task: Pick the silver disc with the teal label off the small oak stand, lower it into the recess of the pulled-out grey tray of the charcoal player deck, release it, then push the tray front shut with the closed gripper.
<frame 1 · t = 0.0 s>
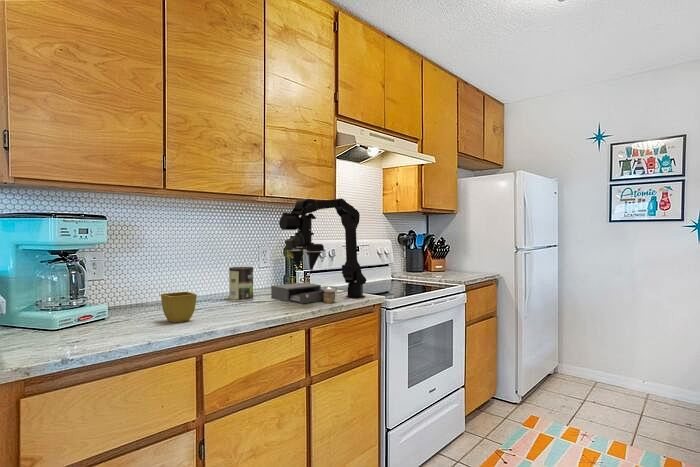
hand: (304, 268, 162), 15 cm above the worktop, fingers open, 9 cm apart
tray: (310, 294, 172), point 2 cm above the worktop, slide at 9.0 cm
oak stand: (328, 302, 167), on the worktop
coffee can: (241, 300, 174), on the worktop
flower pot: (178, 321, 132), on the worktop
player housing: (297, 297, 179), on the worktop
disc: (328, 290, 167), point 5 cm above the worktop, touching oak stand
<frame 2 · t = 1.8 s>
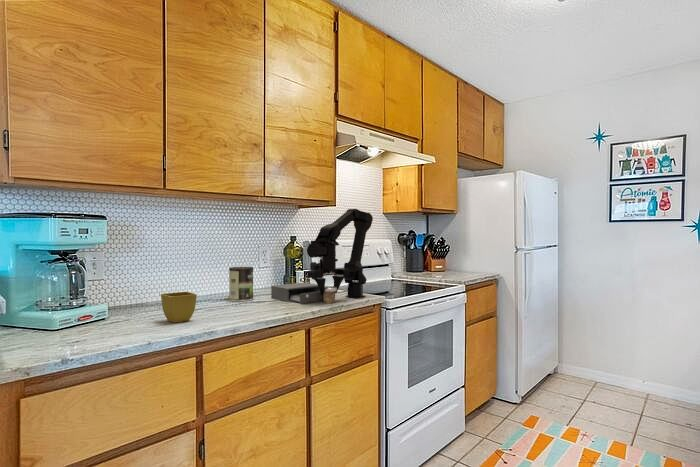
hand: (328, 293, 167), 4 cm above the worktop, fingers closed on disc, 7 cm apart
disc: (328, 290, 167), point 5 cm above the worktop, touching gripper, oak stand
everything else where it was.
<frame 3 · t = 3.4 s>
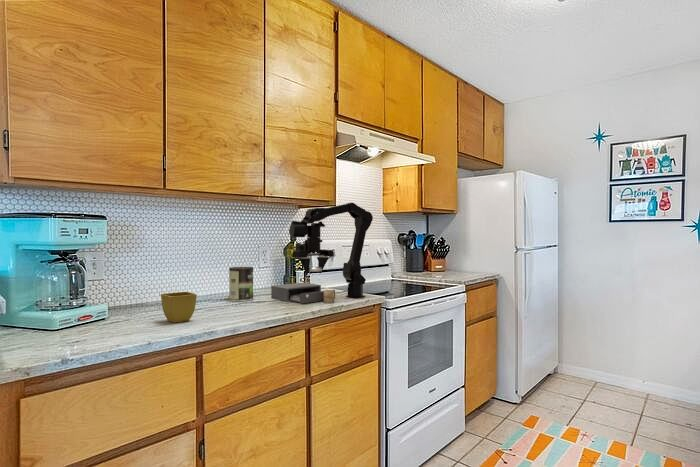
hand: (313, 273, 171), 12 cm above the worktop, fingers closed on disc, 7 cm apart
disc: (313, 271, 171), point 13 cm above the worktop, touching gripper
everything else where it was.
when the fingers open (2 cm above the worktop, at t = 5.5 s): disc moves 1 cm and tips over, resting on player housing, tray.
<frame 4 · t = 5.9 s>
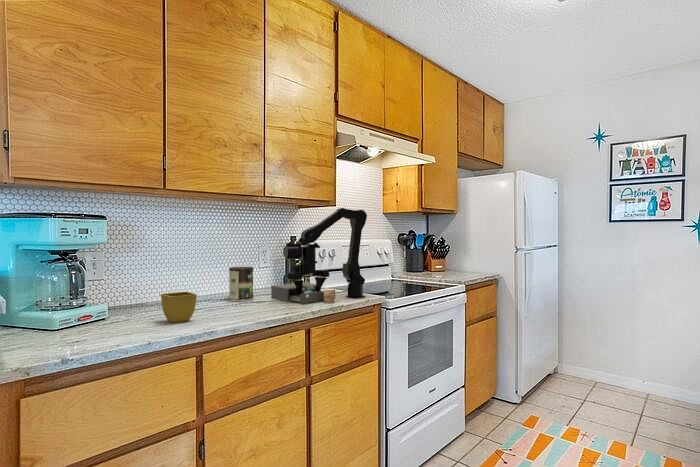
hand: (308, 294, 173), 2 cm above the worktop, fingers open, 9 cm apart
tray: (310, 294, 172), point 2 cm above the worktop, slide at 9.0 cm, touching disc
disc: (308, 292, 173), point 3 cm above the worktop, tilted 35°, touching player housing, tray
everything else where it was.
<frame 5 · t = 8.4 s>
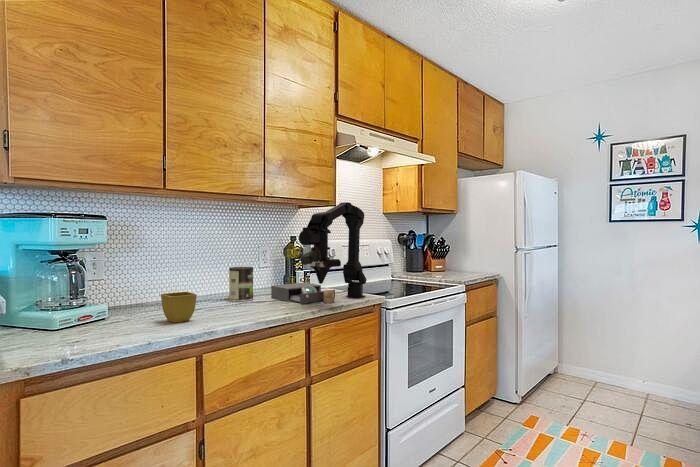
hand: (320, 283, 160), 9 cm above the worktop, fingers closed
nothing on the worktop moved.
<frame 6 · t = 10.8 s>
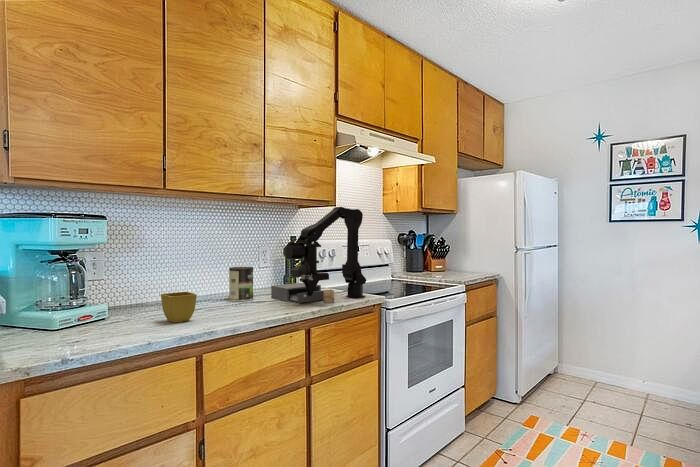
hand: (309, 295, 165), 3 cm above the worktop, fingers closed
tray: (307, 294, 173), point 2 cm above the worktop, slide at 7.4 cm, touching disc, gripper
disc: (307, 297, 173), point 1 cm above the worktop, touching tray
everything else where it was.
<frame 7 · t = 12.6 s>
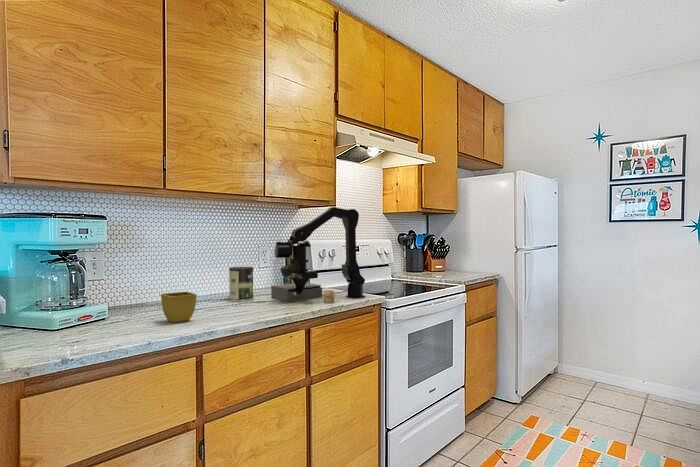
hand: (299, 293, 171), 3 cm above the worktop, fingers closed
tray: (298, 292, 179), point 2 cm above the worktop, slide at 0.0 cm, touching disc, gripper
disc: (298, 295, 179), point 1 cm above the worktop, touching tray
everything else where it was.
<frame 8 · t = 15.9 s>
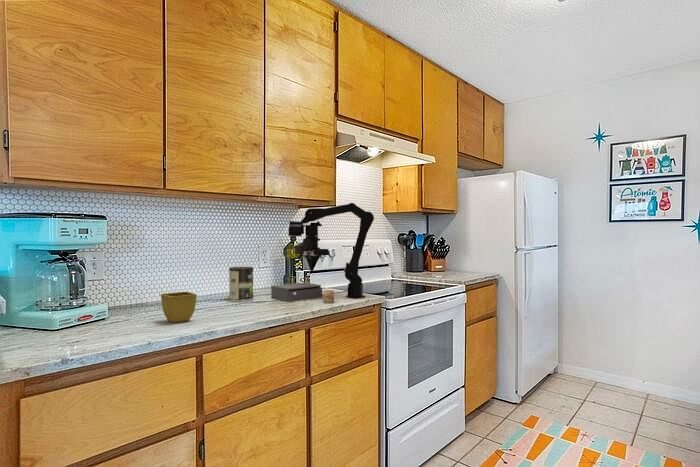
hand: (311, 270, 181), 12 cm above the worktop, fingers closed
tray: (298, 292, 179), point 2 cm above the worktop, slide at 0.0 cm, touching disc
everything else where it was.
at the end: tray slide at 0.0 cm; disc inside the target area on the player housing (0.9 cm from its centre), point 1.3 cm above the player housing's base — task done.
